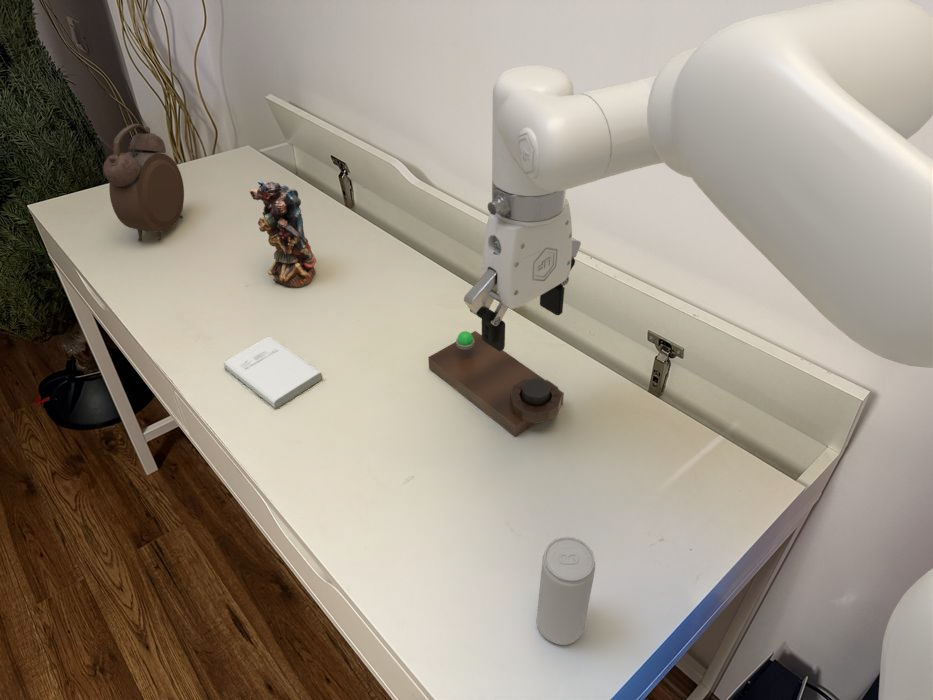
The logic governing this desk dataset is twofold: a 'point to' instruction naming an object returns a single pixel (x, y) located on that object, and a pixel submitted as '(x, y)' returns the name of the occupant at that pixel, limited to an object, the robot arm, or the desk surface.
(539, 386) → the button
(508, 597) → the desk surface
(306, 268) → the figurine
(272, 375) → the hard drive
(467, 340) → the green lamp
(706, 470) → the desk surface
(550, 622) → the beverage can
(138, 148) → the alarm clock
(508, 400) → the switch box
